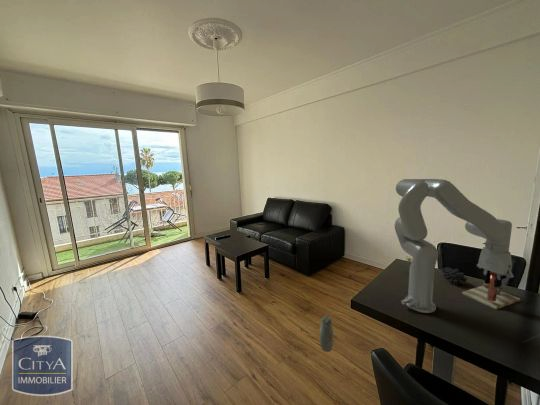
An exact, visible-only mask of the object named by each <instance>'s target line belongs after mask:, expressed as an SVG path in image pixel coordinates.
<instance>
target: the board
mask: <svg viewBox="0 0 540 405" xmlns="http://www.w3.org/2000/svg"><path fill="white" fill-rule="evenodd" d="M461 294H462V295H464V296H466V297H467V298H470V299H472V300H474V301H477V302H479V303H481V304H483V305H484V306H485V305H486V306H488V307H490V308H492V309H494V310H499V309H501V308H505V307H507V306H509V305H512V304H515V303H517V302H520V301H521V298H520V297H518V296H515V295H512V294H510V293H507V292H504V291H503V290H502V289H499V290H498V292H497V296H496V301H490V300H488V299H487V294H488V288H486V287H485V286H484V285H483V284H482V285H480V286H477V287H473V288H470V289H467V290H465V291H464V290H463V291H462V292H461Z"/></svg>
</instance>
